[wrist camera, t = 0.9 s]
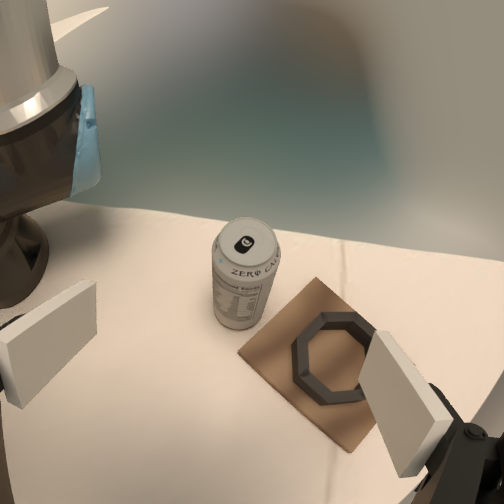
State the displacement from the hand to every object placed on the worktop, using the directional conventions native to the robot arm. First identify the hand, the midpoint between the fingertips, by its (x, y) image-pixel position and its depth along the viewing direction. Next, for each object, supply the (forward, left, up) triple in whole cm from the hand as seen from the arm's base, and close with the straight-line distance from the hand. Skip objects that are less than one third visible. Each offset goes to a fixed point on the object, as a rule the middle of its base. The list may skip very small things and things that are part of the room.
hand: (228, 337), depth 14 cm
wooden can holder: (+6, +12, -23) cm, 27 cm away
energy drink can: (-7, +9, -24) cm, 26 cm away
